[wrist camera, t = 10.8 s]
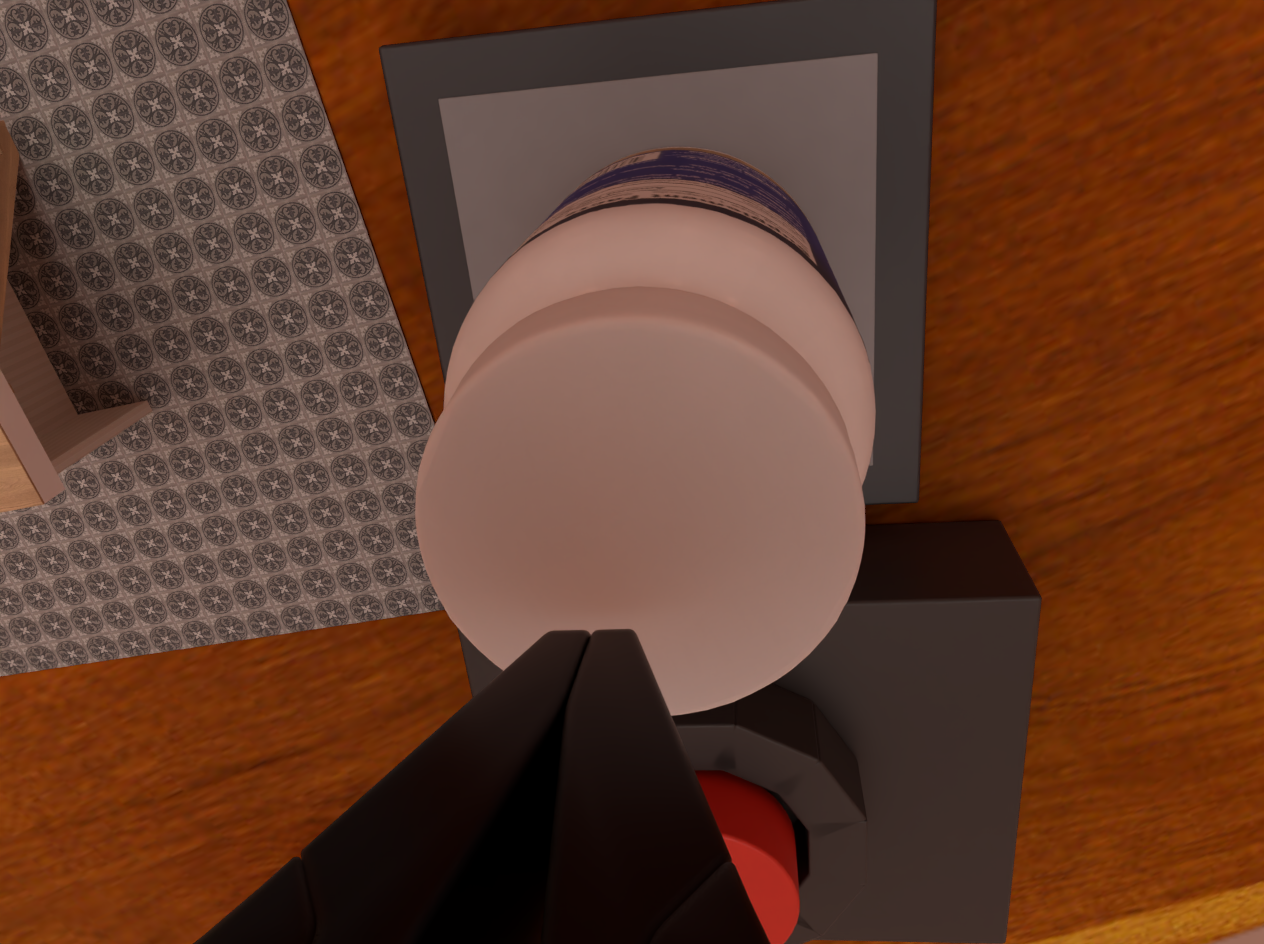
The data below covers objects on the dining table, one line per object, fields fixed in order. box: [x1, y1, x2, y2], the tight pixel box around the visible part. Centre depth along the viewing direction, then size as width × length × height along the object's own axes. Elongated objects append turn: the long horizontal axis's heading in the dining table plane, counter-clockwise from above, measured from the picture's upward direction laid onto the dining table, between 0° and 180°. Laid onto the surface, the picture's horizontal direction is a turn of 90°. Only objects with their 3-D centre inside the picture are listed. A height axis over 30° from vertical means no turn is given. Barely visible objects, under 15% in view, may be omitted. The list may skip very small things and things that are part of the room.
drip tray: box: [379, 0, 937, 505], centre depth 19 cm, size 10×10×1 cm
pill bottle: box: [415, 147, 876, 716], centre depth 14 cm, size 6×6×10 cm
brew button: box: [694, 770, 800, 944], centre depth 19 cm, size 4×4×2 cm
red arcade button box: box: [457, 520, 1042, 944], centre depth 22 cm, size 12×10×5 cm
